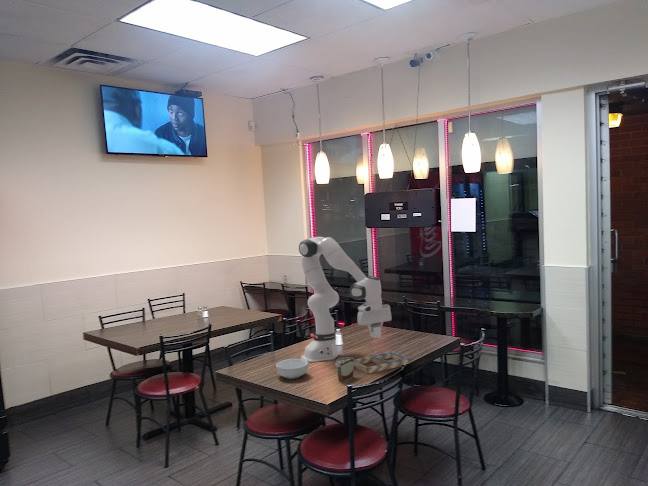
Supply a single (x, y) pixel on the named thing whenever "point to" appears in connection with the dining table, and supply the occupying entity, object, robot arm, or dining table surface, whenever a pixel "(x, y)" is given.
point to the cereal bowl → (292, 368)
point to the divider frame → (381, 362)
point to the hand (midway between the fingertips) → (375, 331)
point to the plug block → (375, 330)
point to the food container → (345, 368)
